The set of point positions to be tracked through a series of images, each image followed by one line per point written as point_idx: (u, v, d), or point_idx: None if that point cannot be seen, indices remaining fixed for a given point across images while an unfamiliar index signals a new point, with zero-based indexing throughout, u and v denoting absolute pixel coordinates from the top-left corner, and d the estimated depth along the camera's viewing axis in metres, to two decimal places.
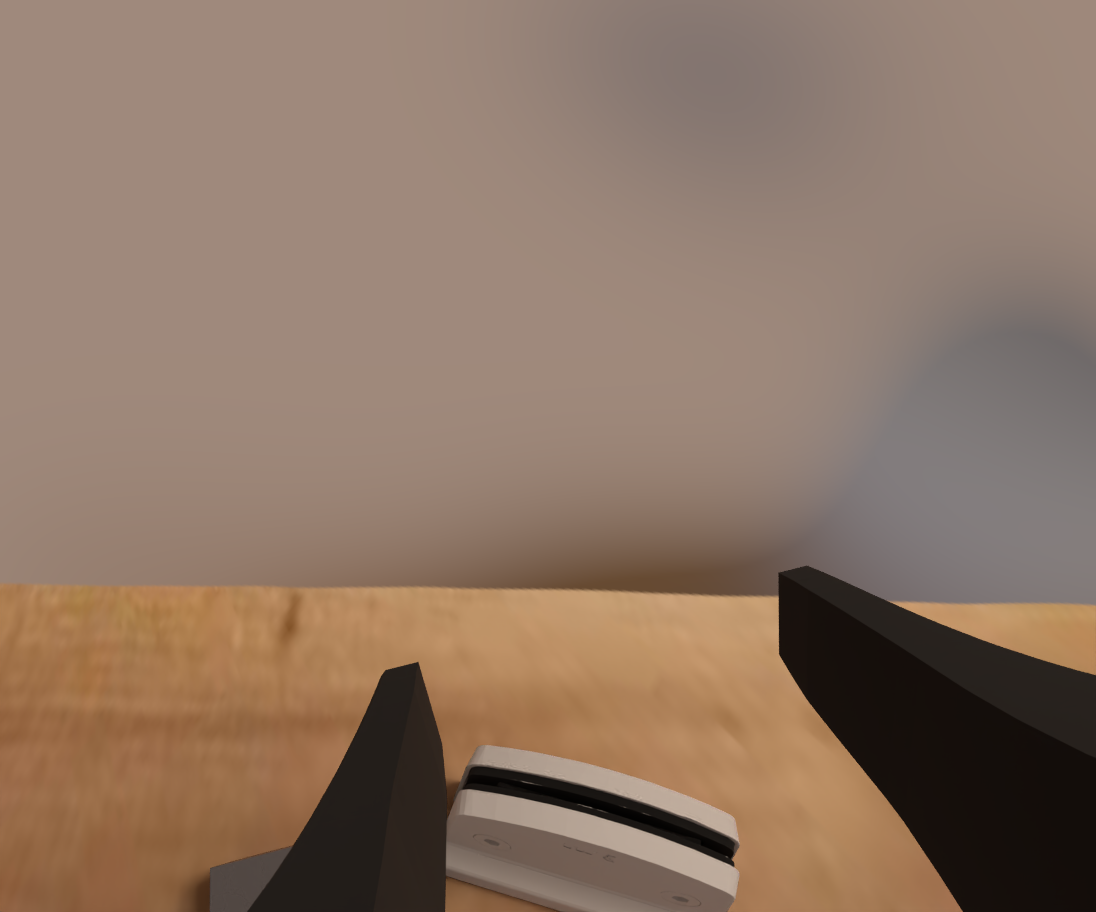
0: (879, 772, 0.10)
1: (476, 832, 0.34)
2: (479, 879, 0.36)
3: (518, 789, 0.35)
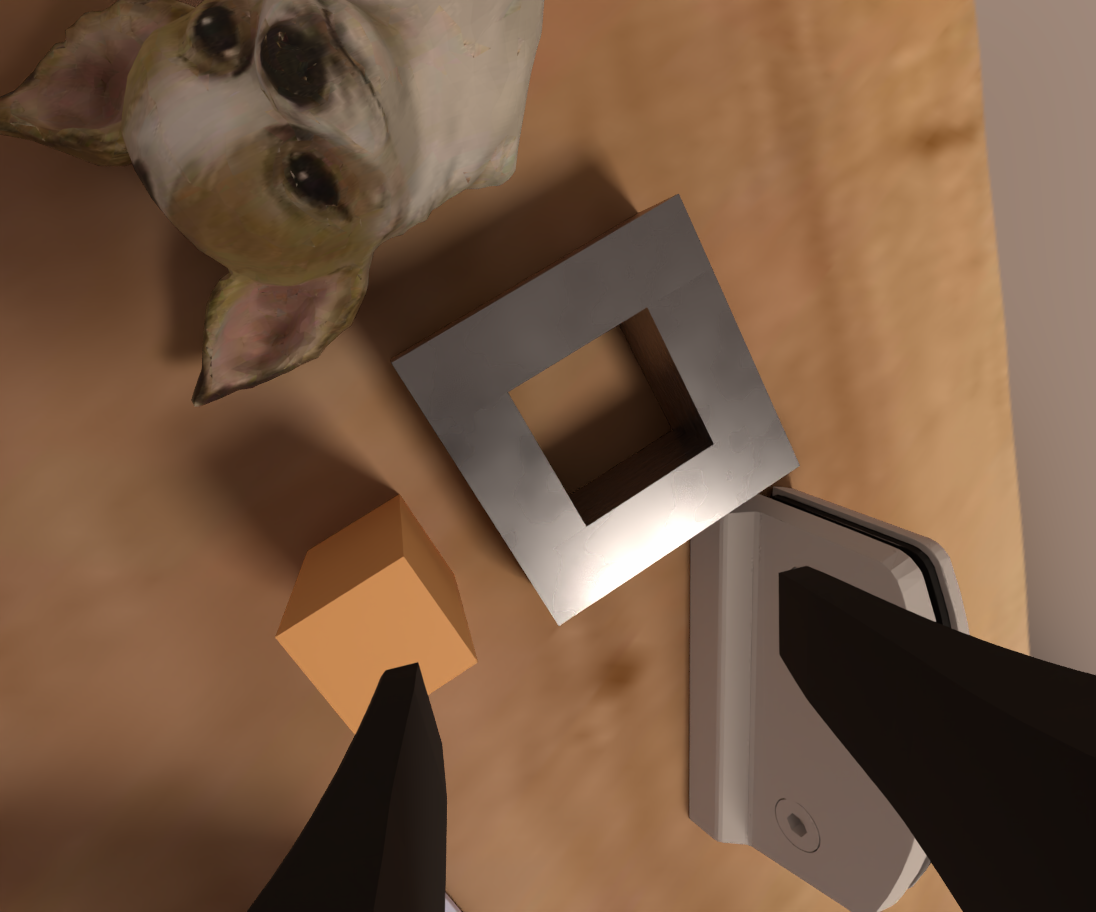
0: (879, 772, 0.10)
1: None
2: (717, 567, 0.26)
3: None
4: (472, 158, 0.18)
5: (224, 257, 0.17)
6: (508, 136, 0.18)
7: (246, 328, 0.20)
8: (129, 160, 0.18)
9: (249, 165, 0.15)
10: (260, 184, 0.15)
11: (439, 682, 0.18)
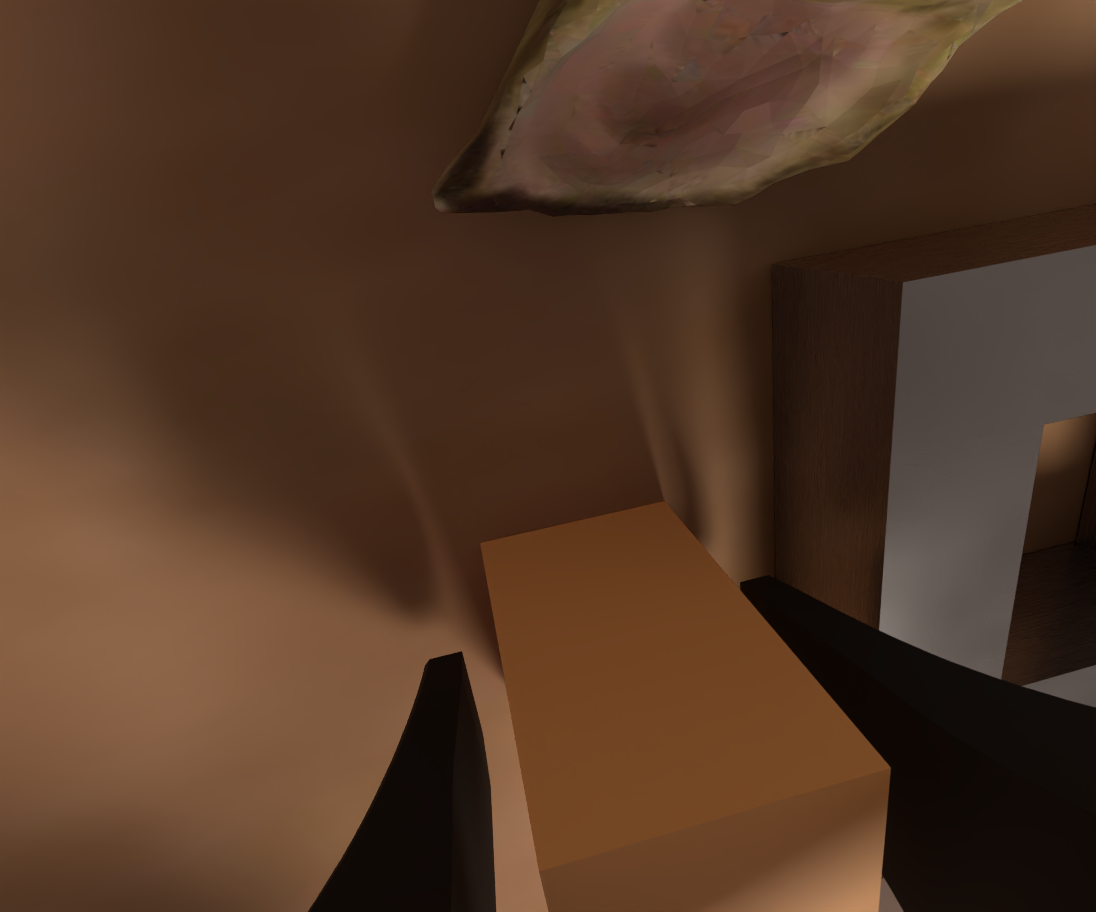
0: None
1: None
2: None
3: None
4: None
5: None
6: None
7: (596, 79, 0.09)
8: None
9: None
10: None
11: None
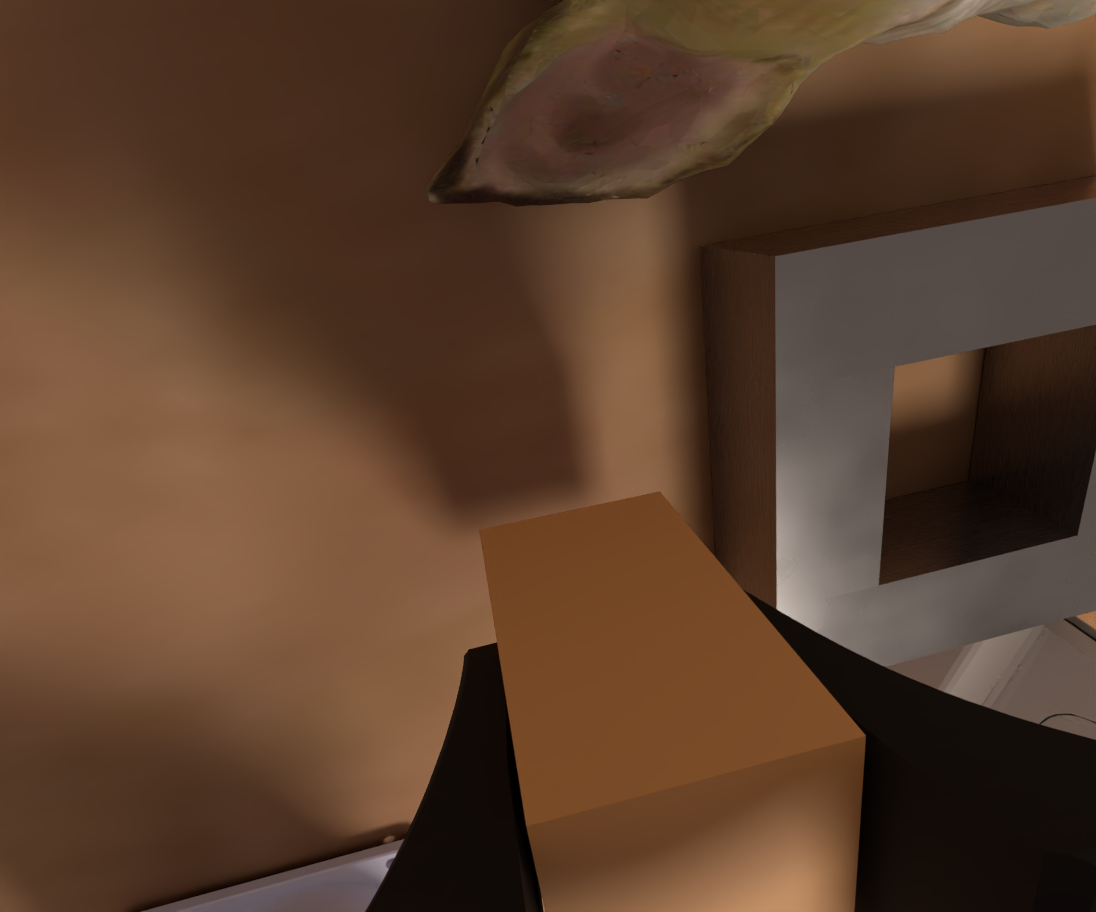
0: None
1: None
2: (948, 667, 0.20)
3: None
4: None
5: None
6: None
7: (547, 105, 0.12)
8: None
9: None
10: None
11: None
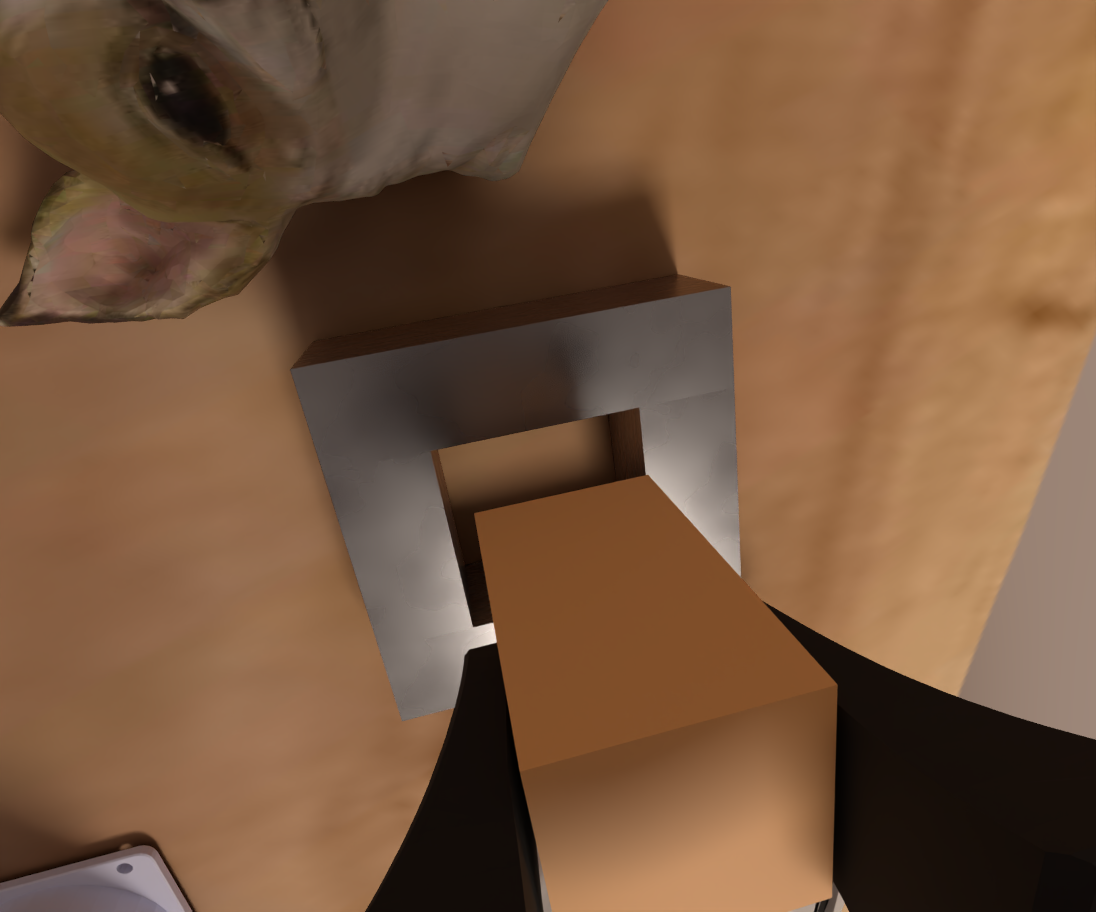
0: None
1: None
2: None
3: None
4: (459, 138, 0.12)
5: (49, 155, 0.11)
6: (516, 127, 0.12)
7: (102, 244, 0.15)
8: None
9: (82, 42, 0.09)
10: (95, 76, 0.09)
11: None
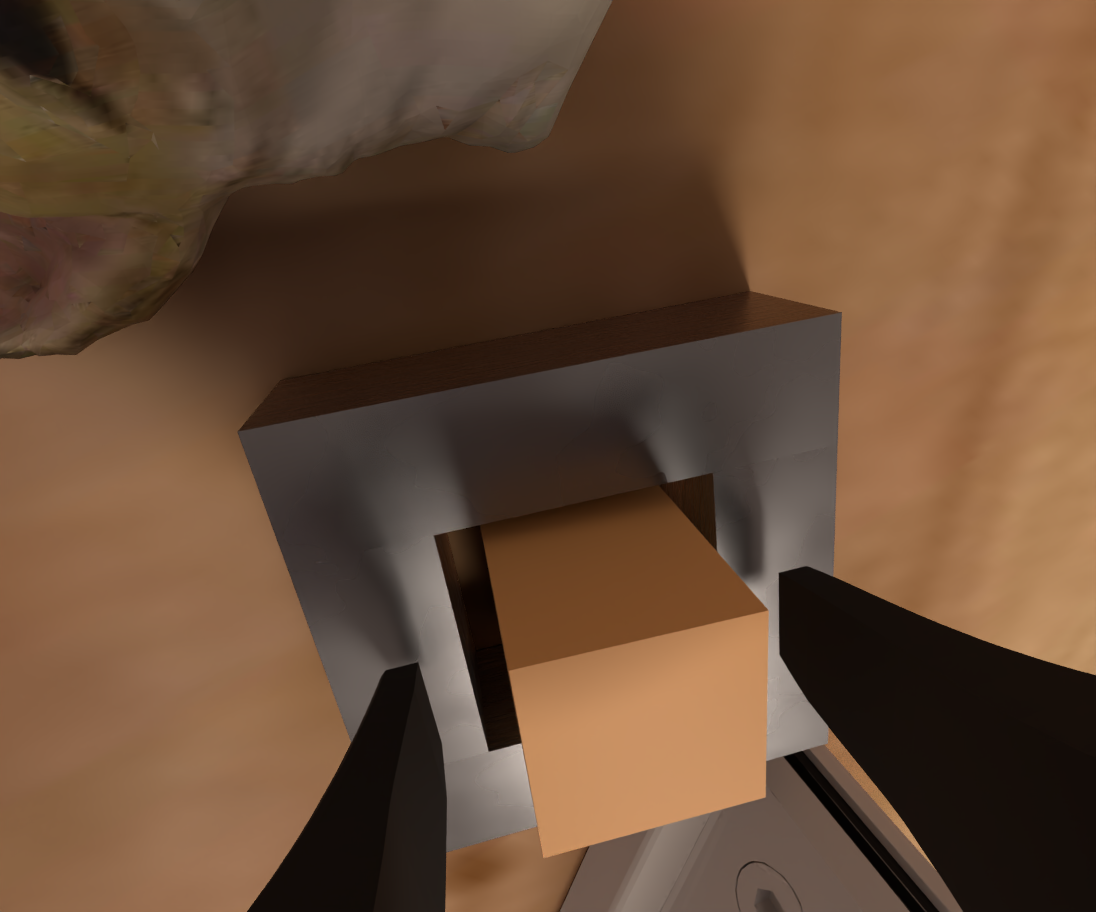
0: (879, 772, 0.10)
1: None
2: None
3: None
4: (461, 82, 0.08)
5: None
6: (550, 63, 0.08)
7: None
8: None
9: None
10: None
11: (698, 810, 0.11)
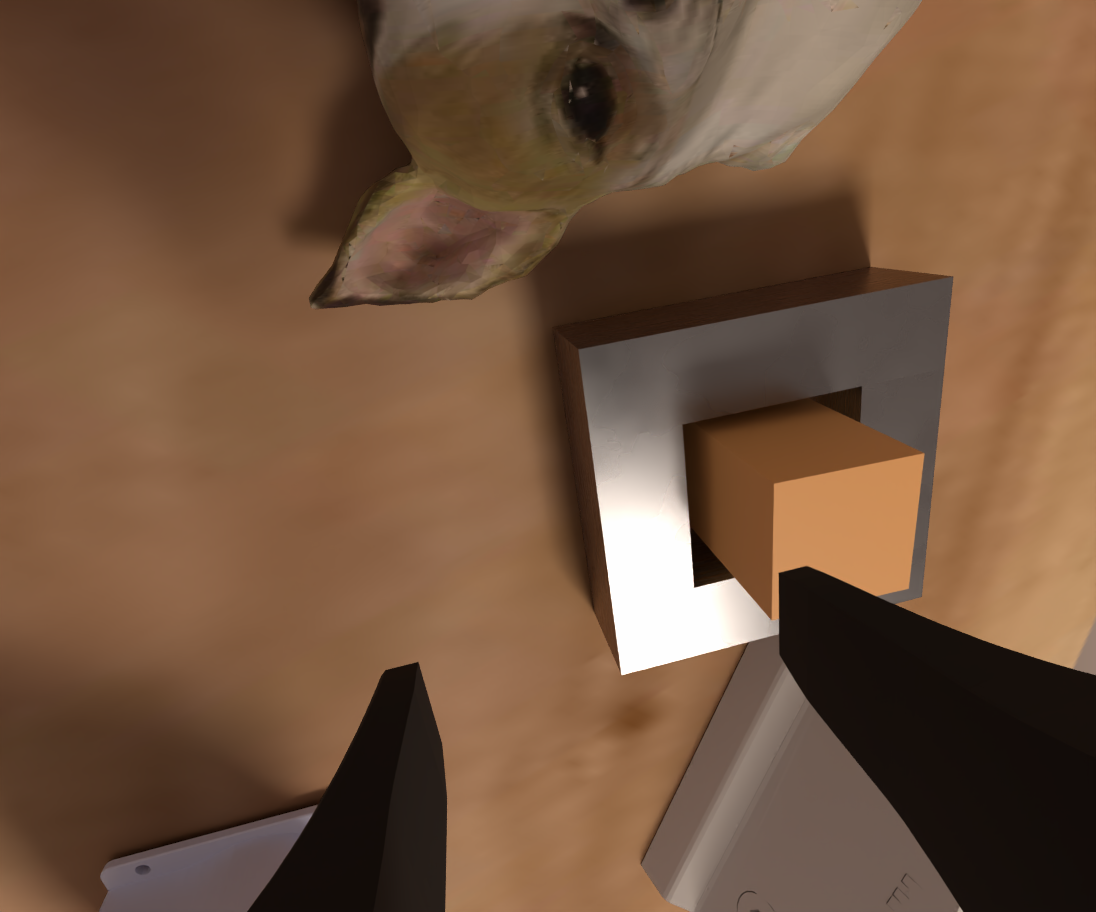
0: (879, 772, 0.10)
1: None
2: None
3: None
4: (755, 132, 0.14)
5: (428, 153, 0.13)
6: (809, 121, 0.14)
7: (397, 234, 0.16)
8: None
9: (524, 55, 0.11)
10: (526, 84, 0.11)
11: None
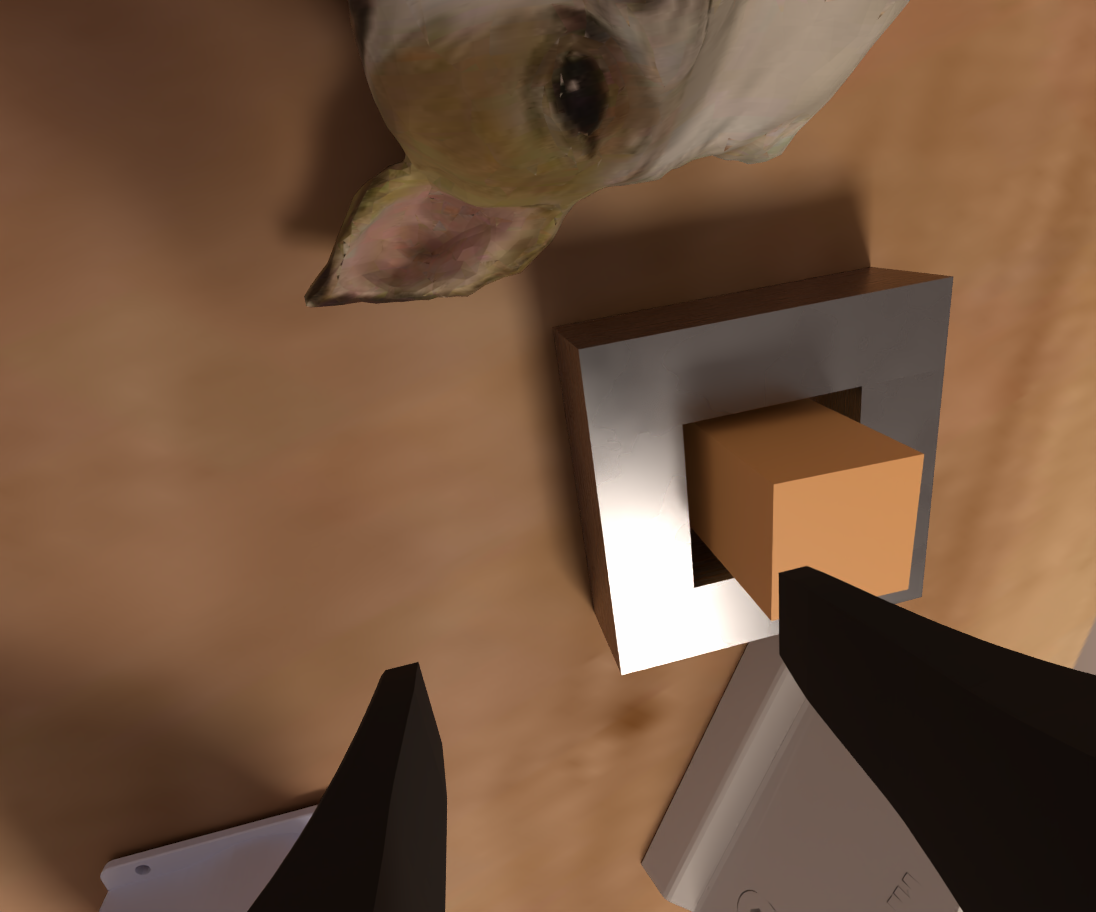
0: (879, 772, 0.10)
1: None
2: None
3: None
4: (749, 125, 0.14)
5: (420, 149, 0.13)
6: (804, 113, 0.14)
7: (392, 231, 0.16)
8: None
9: (515, 48, 0.11)
10: (517, 78, 0.11)
11: None
